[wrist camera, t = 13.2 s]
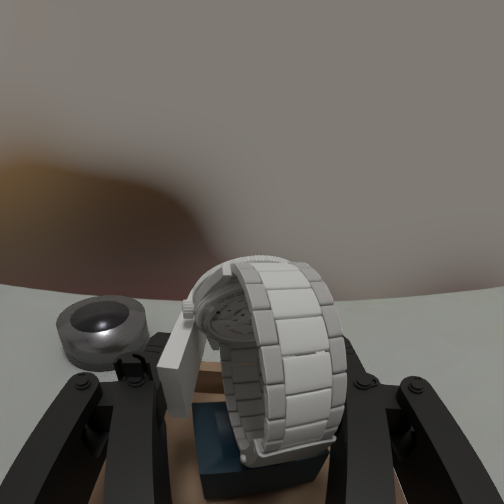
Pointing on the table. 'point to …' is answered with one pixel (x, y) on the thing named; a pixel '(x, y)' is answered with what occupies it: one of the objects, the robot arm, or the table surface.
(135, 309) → the round socket
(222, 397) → the rect wooden tray
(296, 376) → the watch
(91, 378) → the robot arm
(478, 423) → the table surface
